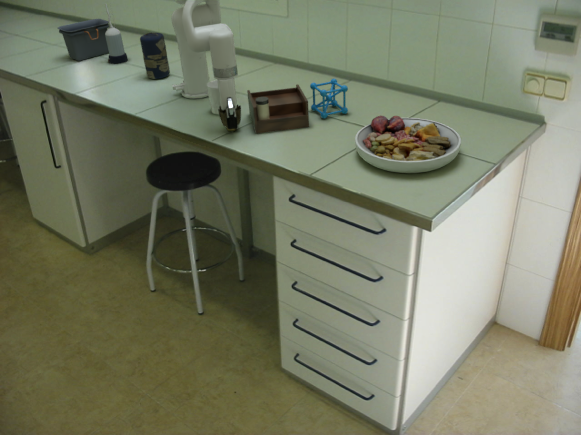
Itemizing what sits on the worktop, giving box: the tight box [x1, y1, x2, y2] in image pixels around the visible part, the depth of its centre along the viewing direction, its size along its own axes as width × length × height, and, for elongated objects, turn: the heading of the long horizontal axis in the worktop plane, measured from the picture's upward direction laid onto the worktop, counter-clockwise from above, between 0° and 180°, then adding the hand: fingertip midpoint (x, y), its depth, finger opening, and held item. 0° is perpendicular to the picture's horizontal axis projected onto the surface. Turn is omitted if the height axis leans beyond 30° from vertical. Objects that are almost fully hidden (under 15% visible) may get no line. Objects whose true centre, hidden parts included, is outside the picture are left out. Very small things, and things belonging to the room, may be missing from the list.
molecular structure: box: [309, 78, 349, 120], centre depth 201 cm, size 10×10×10 cm
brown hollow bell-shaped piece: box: [218, 103, 242, 133], centre depth 193 cm, size 8×7×8 cm
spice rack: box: [246, 83, 310, 135], centre depth 197 cm, size 18×16×9 cm
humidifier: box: [104, 2, 129, 65], centre depth 260 cm, size 8×8×25 cm
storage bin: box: [57, 18, 110, 62], centre depth 272 cm, size 21×16×14 cm
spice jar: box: [255, 97, 270, 121], centre depth 191 cm, size 4×4×7 cm
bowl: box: [354, 115, 462, 174], centre depth 172 cm, size 30×30×8 cm
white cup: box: [207, 79, 220, 115], centre depth 207 cm, size 8×8×10 cm
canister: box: [139, 32, 171, 80], centre depth 241 cm, size 10×10×18 cm
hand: (231, 122), depth 193 cm, fingers open, 9 cm apart
